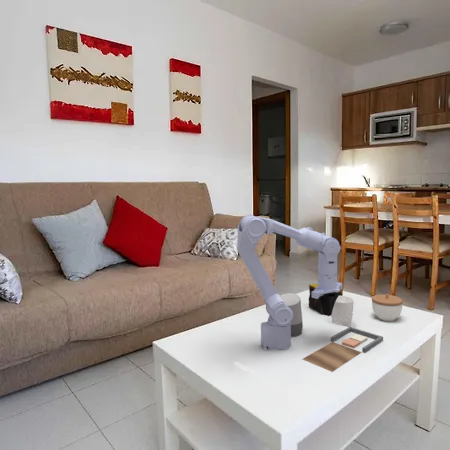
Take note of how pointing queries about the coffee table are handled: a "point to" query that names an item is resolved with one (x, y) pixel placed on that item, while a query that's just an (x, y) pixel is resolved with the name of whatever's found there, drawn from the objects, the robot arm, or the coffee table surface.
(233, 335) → the coffee table surface
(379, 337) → the tray
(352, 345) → the terracotta tile
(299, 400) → the coffee table surface
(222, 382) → the coffee table surface
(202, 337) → the coffee table surface
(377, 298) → the lidded jar
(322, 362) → the brown wooden board
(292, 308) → the smart speaker
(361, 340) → the cream tile
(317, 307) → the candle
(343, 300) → the white cup
